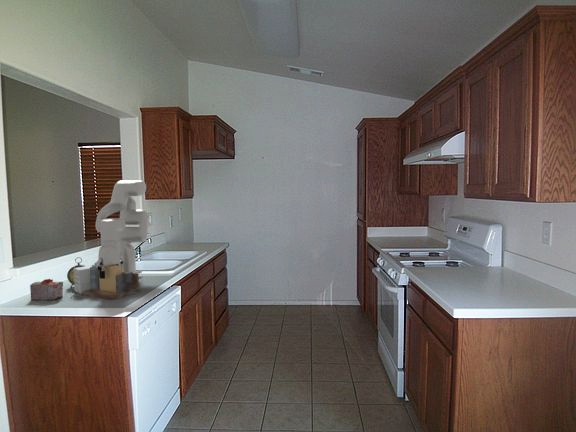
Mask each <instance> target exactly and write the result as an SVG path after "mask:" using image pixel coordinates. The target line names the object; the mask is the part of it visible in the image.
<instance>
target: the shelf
mask: <svg viewBox="0 0 576 432" xmlns="http://www.w3.org/2000/svg"><path fill="white" fill-rule="evenodd" d="M89 267H90V280H91V290H87V291H84V292H82V295H83V296H88V297H94V298H101V299H107V300H113V301H115V300H116V299H120V298H123V297H126V296H130V295H133V294H135V292H136V293H138V291H139V292H140V285H139V278H140V277H139V278H138V276H139V274H137V273H133V272H129V273H128V272H122V274H121V275H117V276H116V292H110V291H104V290H100V285H99V271H98V269H97V268H96V267H95V265H94V264H92V265H91V266H89ZM132 293H133V294H132Z"/></svg>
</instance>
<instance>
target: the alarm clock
mask: <svg viewBox="0 0 576 432" xmlns="http://www.w3.org/2000/svg"><path fill="white" fill-rule="evenodd" d="M74 259H75V260H74V261H75V263H76V265H74V266H72V267H70V269H69V270H68V272H67V274H66V276H67V277H66V278H67V281H68V282H69V284H71V285H70V288H72V287H73V286H75V282H74V268H79V267H85V266H86V265H84V264H81V263H82V262H83V259H82V257H80V256H79V257H75V258H74ZM78 259H80V262H77V260H78Z"/></svg>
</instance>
